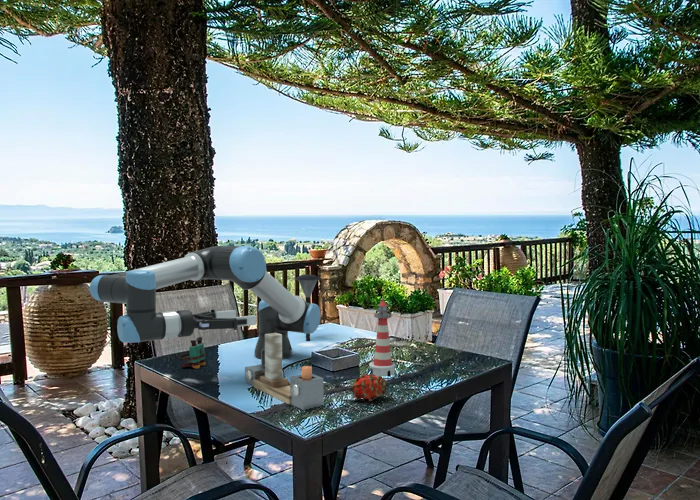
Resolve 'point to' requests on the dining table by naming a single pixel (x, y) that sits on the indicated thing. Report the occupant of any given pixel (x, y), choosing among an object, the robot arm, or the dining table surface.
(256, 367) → the cabinet
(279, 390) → the rail
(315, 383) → the cabinet
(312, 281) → the solar garden light
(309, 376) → the button
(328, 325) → the dining table surface
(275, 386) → the tall cream pillar
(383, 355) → the miniature lighthouse
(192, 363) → the binoculars
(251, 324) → the robot arm
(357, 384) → the dragon fruit
